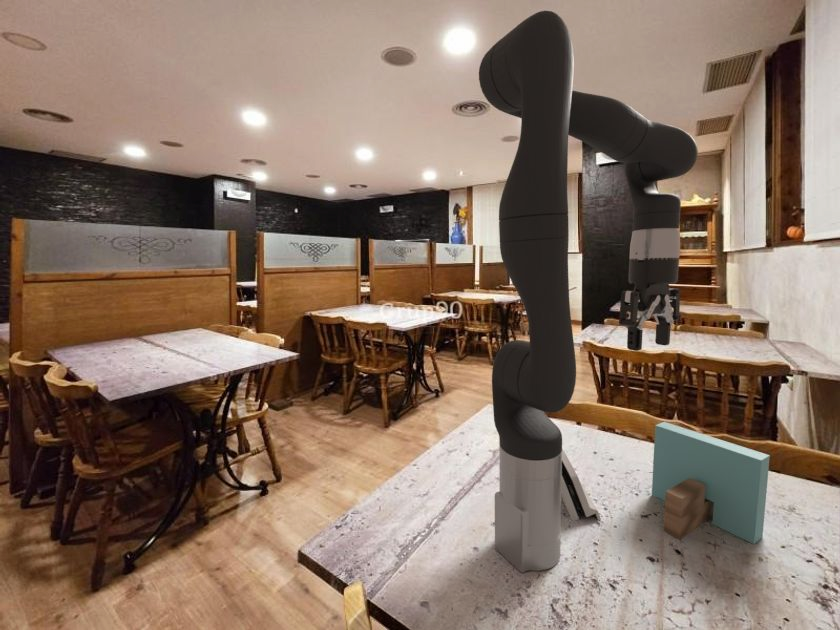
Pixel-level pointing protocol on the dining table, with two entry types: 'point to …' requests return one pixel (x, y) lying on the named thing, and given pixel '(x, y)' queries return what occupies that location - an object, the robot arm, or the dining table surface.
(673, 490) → the notched wooden block
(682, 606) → the dining table surface
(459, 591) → the dining table surface
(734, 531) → the teal plate
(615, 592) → the dining table surface
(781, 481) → the dining table surface
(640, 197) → the robot arm
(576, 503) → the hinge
